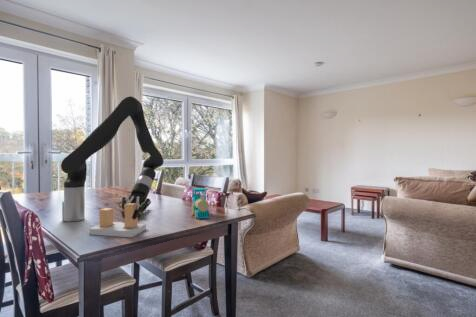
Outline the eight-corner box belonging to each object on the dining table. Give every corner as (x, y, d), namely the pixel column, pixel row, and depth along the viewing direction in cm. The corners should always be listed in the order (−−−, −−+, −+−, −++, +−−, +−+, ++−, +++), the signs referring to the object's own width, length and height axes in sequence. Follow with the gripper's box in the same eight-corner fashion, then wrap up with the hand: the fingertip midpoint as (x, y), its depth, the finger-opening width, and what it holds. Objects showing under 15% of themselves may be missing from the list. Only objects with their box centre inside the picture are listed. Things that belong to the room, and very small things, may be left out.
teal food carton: (196, 220, 146) (197, 192, 145) (191, 213, 161) (191, 188, 161) (211, 219, 149) (211, 191, 148) (204, 212, 164) (204, 187, 164)
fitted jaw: (99, 231, 122) (99, 209, 122) (105, 229, 126) (105, 207, 126) (107, 232, 122) (107, 210, 121) (113, 229, 126) (113, 208, 125)
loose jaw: (124, 227, 120) (124, 204, 120) (129, 224, 124) (129, 202, 124) (132, 227, 120) (132, 204, 120) (137, 225, 124) (137, 203, 123)
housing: (89, 234, 119) (89, 228, 119) (106, 226, 131) (106, 221, 131) (131, 237, 116) (132, 231, 116) (145, 229, 128) (145, 224, 127)
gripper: (125, 181, 130) (110, 212, 118) (153, 182, 128) (140, 214, 116) (131, 191, 135) (117, 221, 124) (158, 192, 133) (146, 223, 122)
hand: (128, 218), depth 120 cm, fingers closed on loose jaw, 4 cm apart
